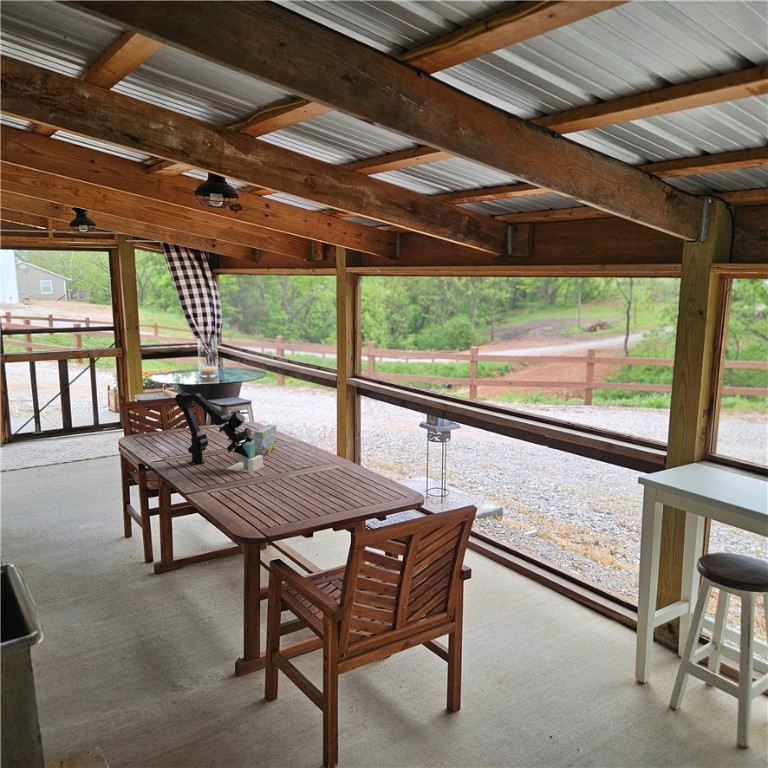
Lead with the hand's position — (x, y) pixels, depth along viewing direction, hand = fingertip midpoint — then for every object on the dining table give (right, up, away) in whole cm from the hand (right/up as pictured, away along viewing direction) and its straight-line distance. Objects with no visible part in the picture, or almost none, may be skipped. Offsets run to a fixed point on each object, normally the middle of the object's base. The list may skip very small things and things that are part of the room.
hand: (250, 455), depth 333 cm
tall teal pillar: (-1, -6, +1) cm, 7 cm away
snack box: (+1, -3, +35) cm, 35 cm away
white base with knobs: (-3, -7, +2) cm, 8 cm away
